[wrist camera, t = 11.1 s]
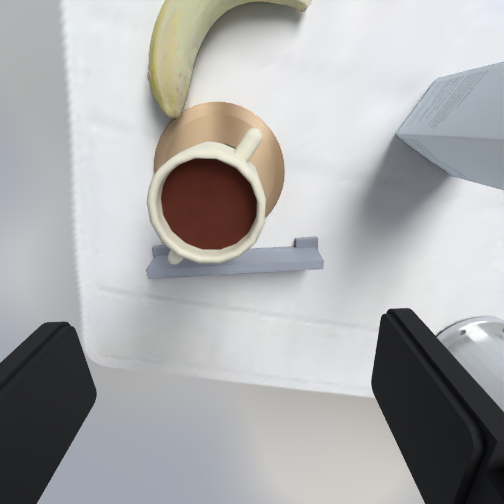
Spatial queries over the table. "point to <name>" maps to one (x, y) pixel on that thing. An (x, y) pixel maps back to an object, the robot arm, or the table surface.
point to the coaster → (225, 141)
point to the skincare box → (462, 125)
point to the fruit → (185, 45)
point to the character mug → (209, 201)
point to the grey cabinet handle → (242, 261)
